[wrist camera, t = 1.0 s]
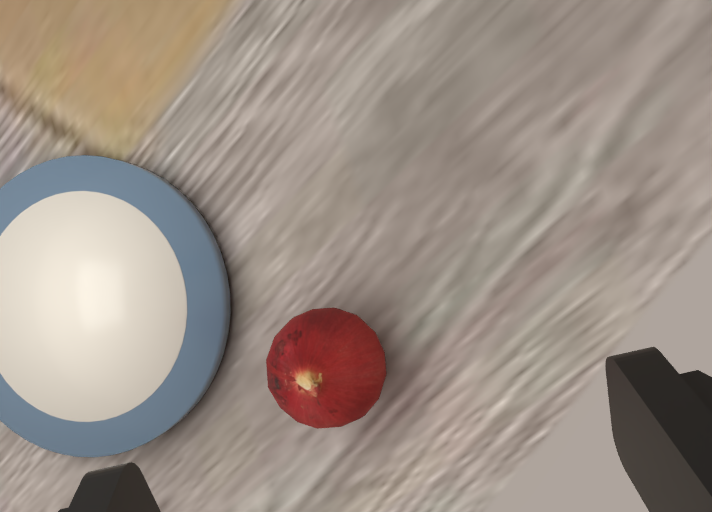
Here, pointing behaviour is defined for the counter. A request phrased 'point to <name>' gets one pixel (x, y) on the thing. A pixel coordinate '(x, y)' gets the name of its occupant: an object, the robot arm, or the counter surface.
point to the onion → (326, 368)
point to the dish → (105, 306)
